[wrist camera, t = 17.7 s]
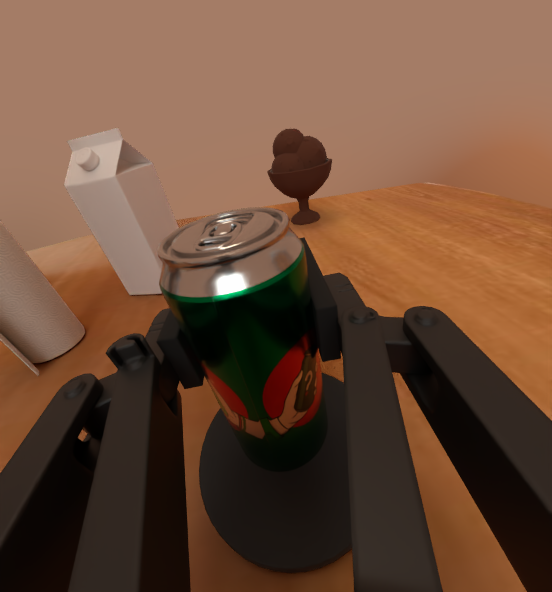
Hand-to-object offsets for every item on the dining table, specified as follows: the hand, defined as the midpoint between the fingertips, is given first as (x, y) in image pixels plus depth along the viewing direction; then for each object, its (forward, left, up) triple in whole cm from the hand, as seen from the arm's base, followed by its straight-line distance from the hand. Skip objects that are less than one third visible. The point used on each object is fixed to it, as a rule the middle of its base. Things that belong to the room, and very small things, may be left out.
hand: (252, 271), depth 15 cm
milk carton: (+4, +26, -10) cm, 29 cm away
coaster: (-4, -4, -10) cm, 11 cm away
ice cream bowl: (+31, +19, -10) cm, 38 cm away
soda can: (-4, -4, -8) cm, 9 cm away
